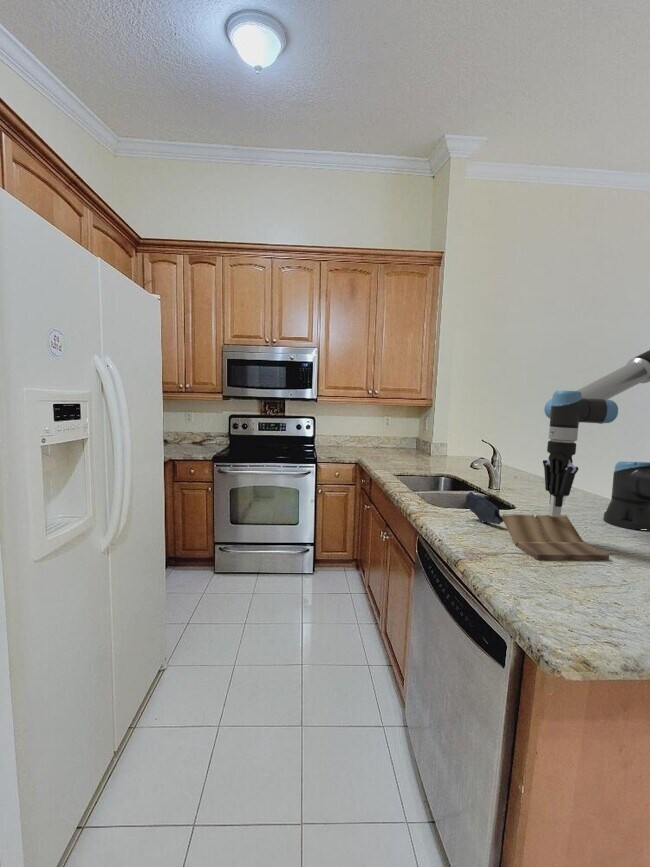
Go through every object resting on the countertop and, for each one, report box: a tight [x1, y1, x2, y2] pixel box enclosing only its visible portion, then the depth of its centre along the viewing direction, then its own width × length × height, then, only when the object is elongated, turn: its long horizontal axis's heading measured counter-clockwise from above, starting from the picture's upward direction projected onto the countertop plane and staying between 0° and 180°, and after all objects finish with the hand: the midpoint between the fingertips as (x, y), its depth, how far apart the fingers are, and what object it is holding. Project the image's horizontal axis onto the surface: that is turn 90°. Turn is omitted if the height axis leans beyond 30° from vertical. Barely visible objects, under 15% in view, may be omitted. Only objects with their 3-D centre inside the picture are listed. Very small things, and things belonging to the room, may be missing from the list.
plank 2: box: [534, 514, 584, 542], centre depth 118 cm, size 10×10×2 cm
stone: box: [465, 491, 504, 525], centre depth 133 cm, size 14×6×10 cm, turn 50°
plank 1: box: [501, 513, 549, 546], centre depth 117 cm, size 10×10×2 cm
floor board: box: [516, 541, 610, 561], centre depth 108 cm, size 21×9×2 cm, turn 95°
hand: (554, 515), depth 120 cm, fingers closed
